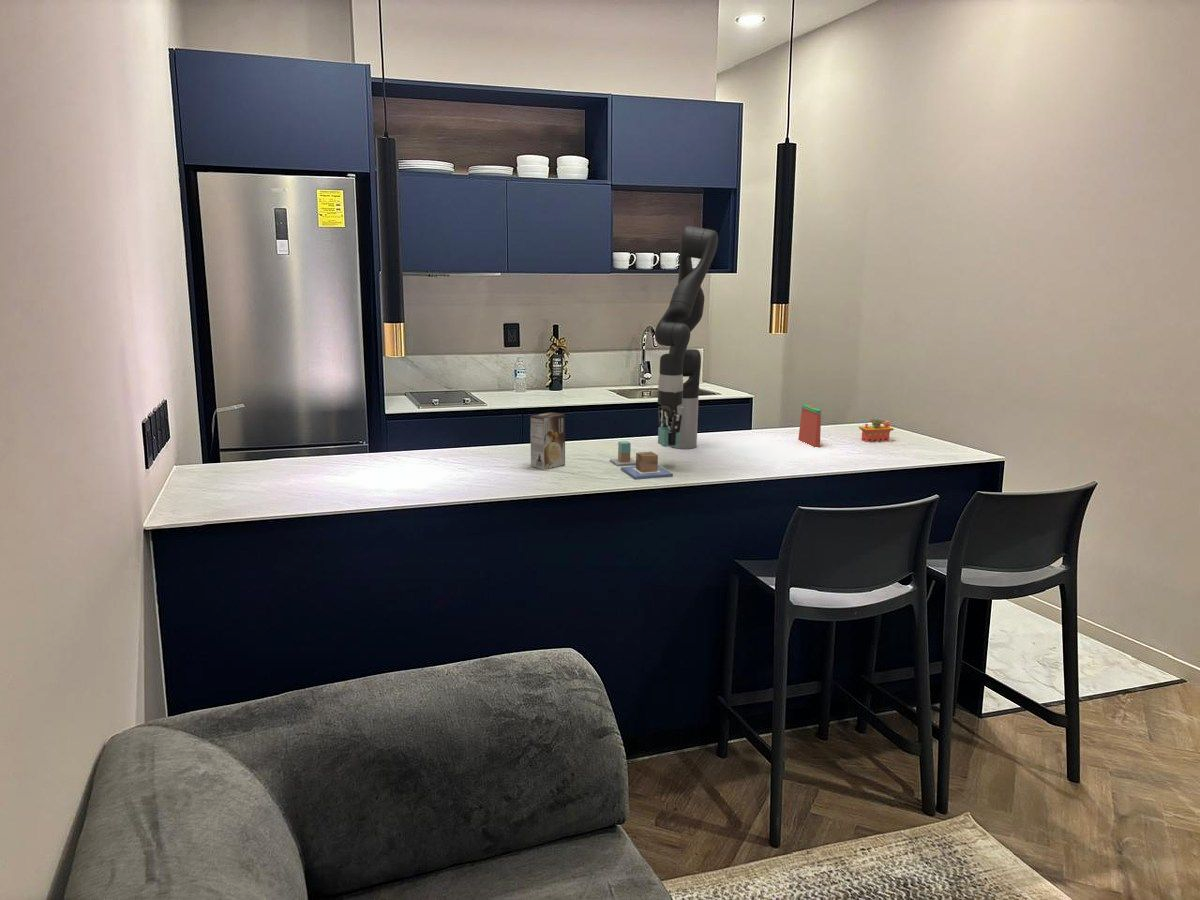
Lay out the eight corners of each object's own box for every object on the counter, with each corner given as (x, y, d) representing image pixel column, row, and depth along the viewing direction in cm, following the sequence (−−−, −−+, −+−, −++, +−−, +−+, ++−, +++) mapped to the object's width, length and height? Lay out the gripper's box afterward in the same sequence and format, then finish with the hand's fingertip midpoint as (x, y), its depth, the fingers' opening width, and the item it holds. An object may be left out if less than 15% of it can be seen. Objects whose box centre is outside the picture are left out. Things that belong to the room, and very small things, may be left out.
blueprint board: (620, 469, 266) (621, 466, 265) (657, 467, 269) (657, 464, 269) (635, 479, 254) (635, 476, 254) (672, 476, 258) (673, 473, 258)
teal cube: (657, 442, 270) (658, 427, 269) (672, 442, 272) (673, 426, 271) (663, 446, 266) (664, 430, 265) (678, 445, 267) (679, 430, 266)
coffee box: (551, 461, 275) (551, 411, 271) (565, 465, 270) (565, 414, 267) (529, 466, 268) (529, 415, 264) (544, 470, 264) (544, 418, 260)
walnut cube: (635, 468, 263) (636, 452, 262) (651, 467, 265) (651, 451, 264) (642, 472, 259) (642, 456, 258) (657, 471, 260) (657, 455, 259)
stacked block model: (609, 461, 276) (610, 440, 275) (630, 459, 278) (630, 439, 277) (617, 466, 270) (617, 445, 268) (638, 464, 272) (638, 444, 271)
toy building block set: (798, 440, 311) (800, 401, 308) (885, 436, 320) (888, 398, 317) (814, 448, 300) (817, 407, 296) (904, 444, 308) (908, 404, 305)
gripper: (650, 385, 270) (648, 438, 274) (667, 393, 257) (665, 449, 261) (673, 384, 272) (671, 437, 276) (691, 392, 259) (688, 447, 263)
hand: (668, 442), depth 269 cm, fingers closed on teal cube, 5 cm apart
